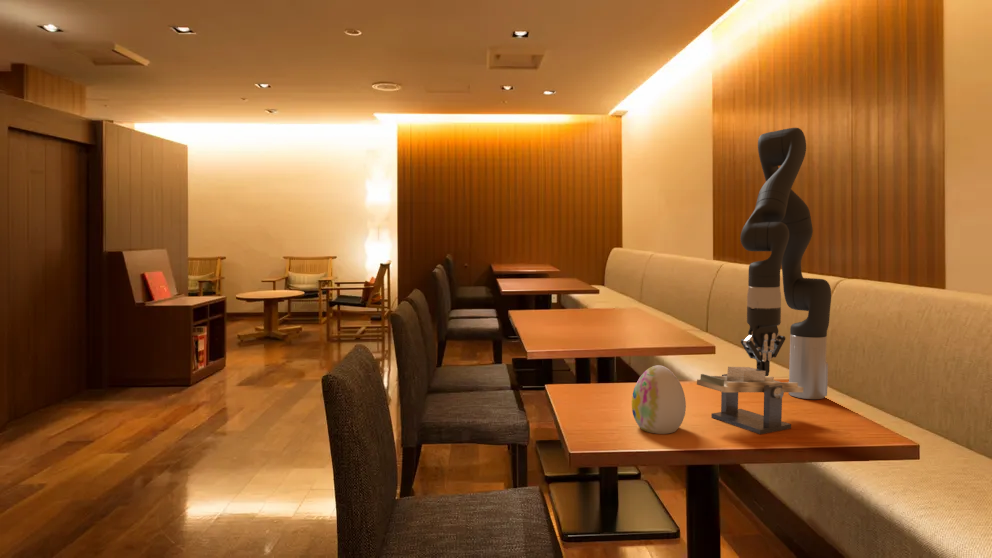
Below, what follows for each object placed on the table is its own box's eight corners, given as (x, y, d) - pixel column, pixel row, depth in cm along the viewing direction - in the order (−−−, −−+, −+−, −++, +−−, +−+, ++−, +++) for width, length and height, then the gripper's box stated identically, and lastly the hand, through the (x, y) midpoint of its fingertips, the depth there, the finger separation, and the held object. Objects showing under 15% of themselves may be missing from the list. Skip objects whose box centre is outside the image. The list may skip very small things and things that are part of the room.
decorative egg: (627, 421, 153) (627, 360, 152) (677, 421, 153) (678, 360, 152) (636, 436, 141) (637, 371, 140) (691, 437, 141) (692, 371, 140)
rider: (747, 381, 154) (749, 367, 154) (764, 385, 150) (765, 370, 150) (726, 381, 151) (728, 366, 151) (742, 385, 147) (744, 370, 147)
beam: (770, 385, 161) (771, 373, 161) (807, 394, 152) (808, 382, 152) (693, 384, 150) (694, 372, 150) (727, 394, 140) (728, 381, 140)
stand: (738, 411, 161) (739, 371, 160) (793, 429, 146) (795, 384, 145) (709, 416, 157) (709, 375, 156) (763, 435, 142) (764, 389, 141)
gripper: (770, 301, 157) (769, 369, 159) (731, 305, 152) (730, 375, 153) (796, 304, 151) (795, 375, 152) (756, 308, 145) (755, 382, 146)
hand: (762, 375), depth 153 cm, fingers closed
